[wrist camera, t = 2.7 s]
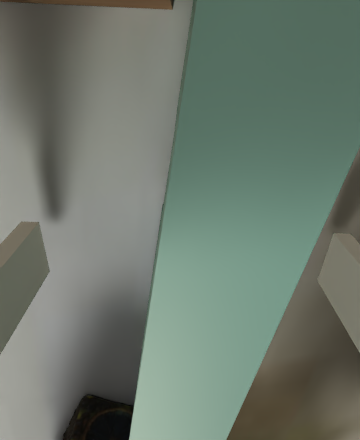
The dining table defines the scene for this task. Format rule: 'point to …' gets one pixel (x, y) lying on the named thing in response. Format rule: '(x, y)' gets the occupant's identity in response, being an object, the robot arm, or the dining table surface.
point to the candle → (100, 420)
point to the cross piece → (243, 200)
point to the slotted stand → (107, 3)
